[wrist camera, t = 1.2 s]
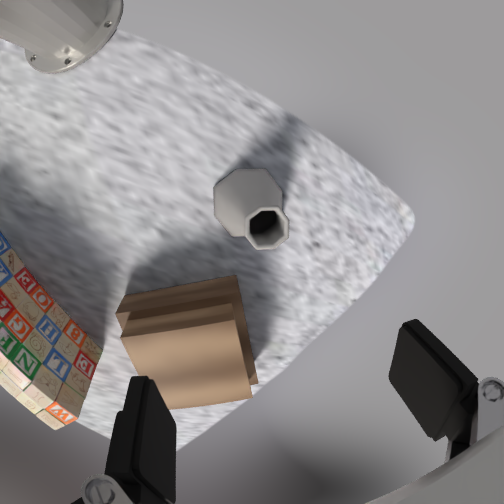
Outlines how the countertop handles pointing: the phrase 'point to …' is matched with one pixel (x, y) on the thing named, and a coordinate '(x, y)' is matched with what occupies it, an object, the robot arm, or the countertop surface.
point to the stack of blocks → (41, 347)
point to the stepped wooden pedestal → (190, 342)
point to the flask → (251, 208)
